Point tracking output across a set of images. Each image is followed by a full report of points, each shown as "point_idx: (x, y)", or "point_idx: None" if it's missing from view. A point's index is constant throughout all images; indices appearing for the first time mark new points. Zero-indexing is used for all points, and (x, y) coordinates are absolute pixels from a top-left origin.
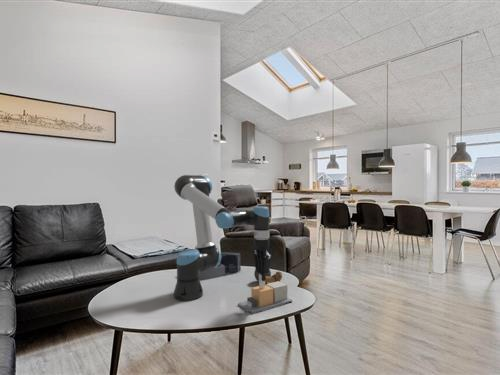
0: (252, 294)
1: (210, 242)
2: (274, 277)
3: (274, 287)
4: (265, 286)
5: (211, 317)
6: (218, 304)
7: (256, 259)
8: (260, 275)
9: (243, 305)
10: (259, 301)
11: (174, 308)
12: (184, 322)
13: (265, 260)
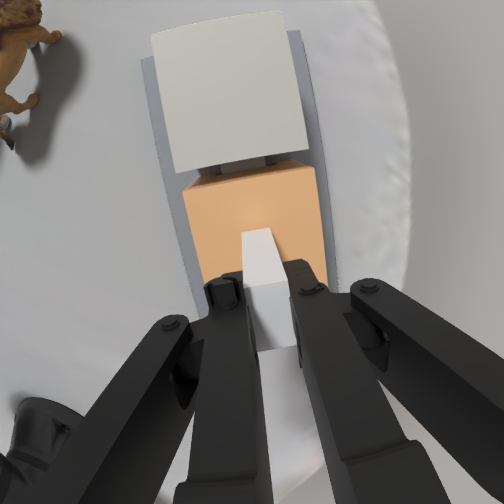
0: None
1: None
2: (12, 32)
3: (295, 143)
4: (233, 205)
5: (280, 433)
6: None
7: (144, 495)
8: (290, 337)
9: None
10: None
11: (165, 480)
12: (274, 477)
13: (493, 470)
